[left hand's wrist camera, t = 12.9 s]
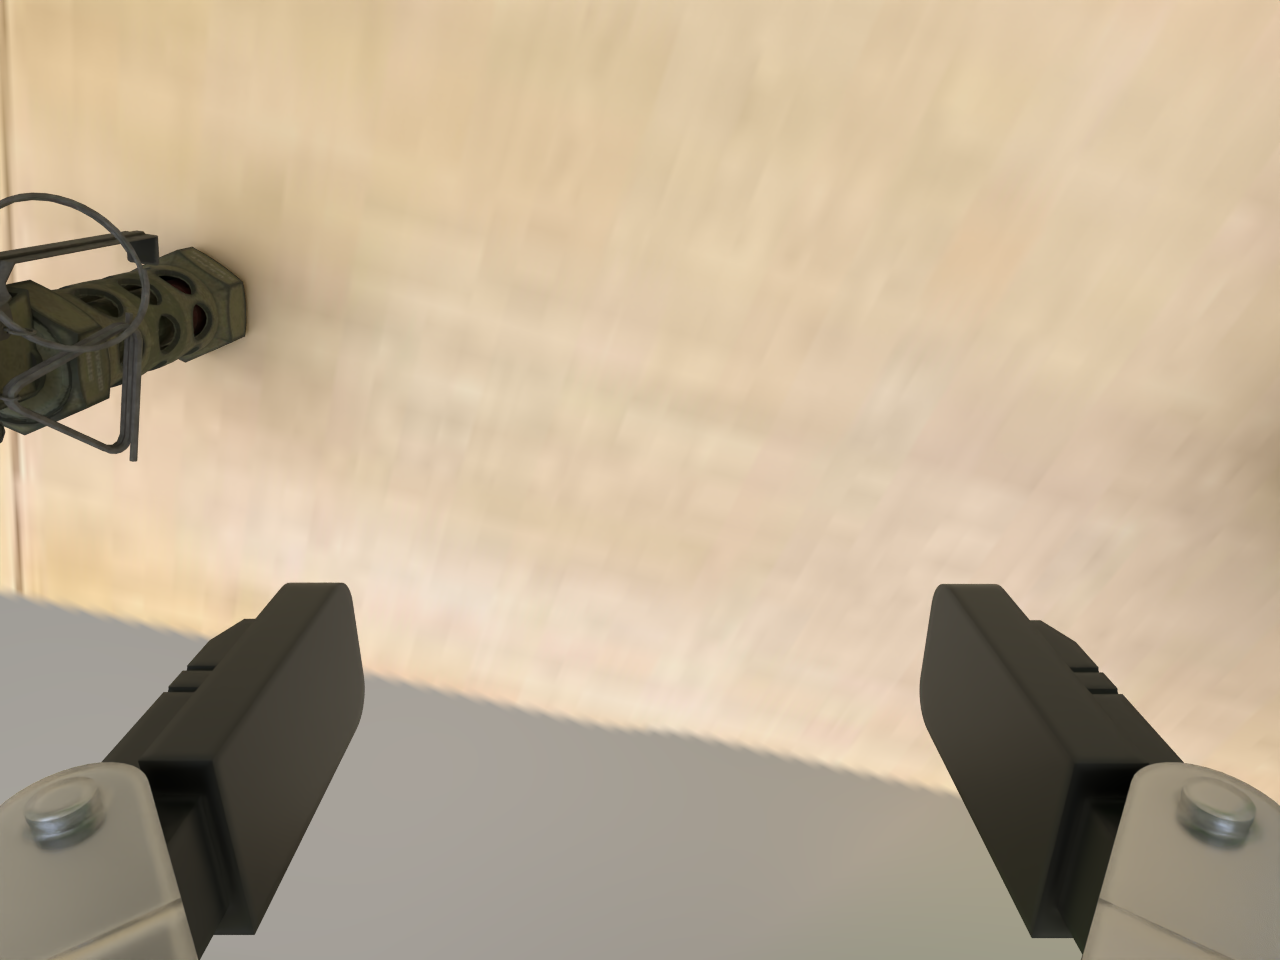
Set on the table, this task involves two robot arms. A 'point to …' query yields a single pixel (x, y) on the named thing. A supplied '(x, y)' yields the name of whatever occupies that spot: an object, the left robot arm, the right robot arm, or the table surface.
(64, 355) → the grenade
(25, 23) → the table surface
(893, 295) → the table surface
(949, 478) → the table surface
